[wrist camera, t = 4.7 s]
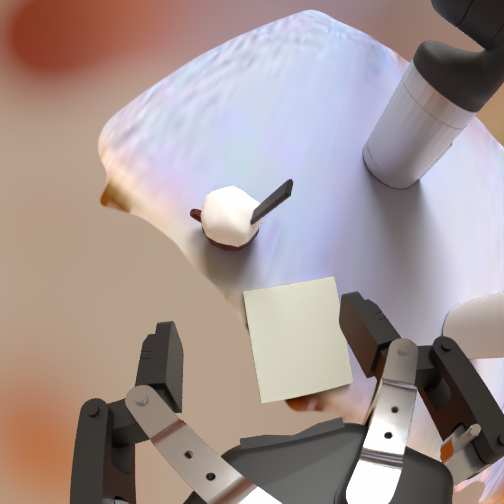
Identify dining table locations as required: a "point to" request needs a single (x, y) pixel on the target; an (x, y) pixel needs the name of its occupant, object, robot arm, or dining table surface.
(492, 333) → the milk bottle
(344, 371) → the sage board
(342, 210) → the dining table surface
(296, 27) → the dining table surface
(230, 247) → the cocoa
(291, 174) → the dining table surface
